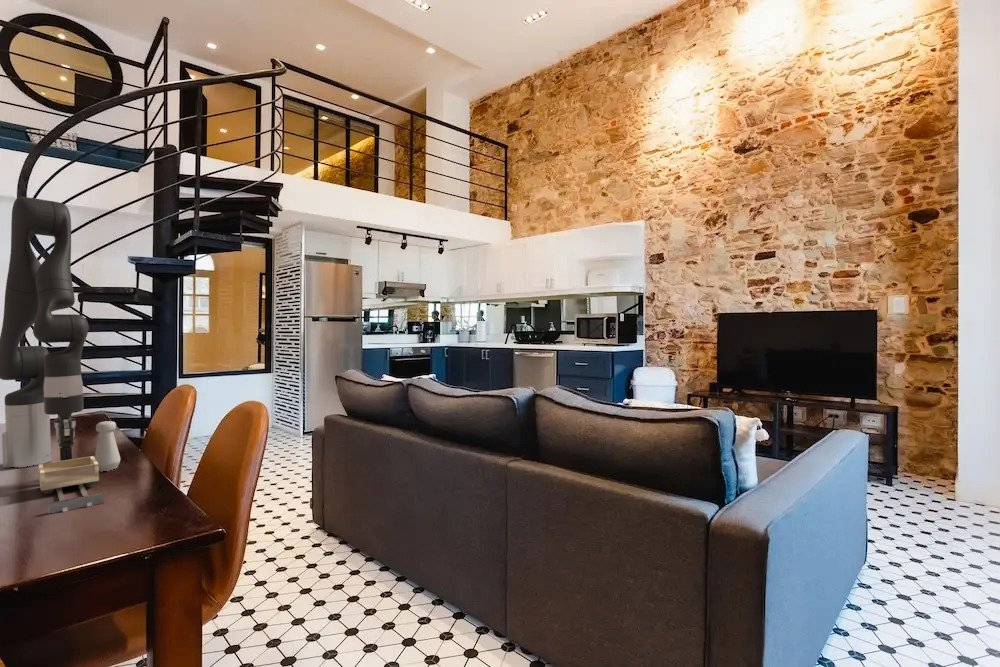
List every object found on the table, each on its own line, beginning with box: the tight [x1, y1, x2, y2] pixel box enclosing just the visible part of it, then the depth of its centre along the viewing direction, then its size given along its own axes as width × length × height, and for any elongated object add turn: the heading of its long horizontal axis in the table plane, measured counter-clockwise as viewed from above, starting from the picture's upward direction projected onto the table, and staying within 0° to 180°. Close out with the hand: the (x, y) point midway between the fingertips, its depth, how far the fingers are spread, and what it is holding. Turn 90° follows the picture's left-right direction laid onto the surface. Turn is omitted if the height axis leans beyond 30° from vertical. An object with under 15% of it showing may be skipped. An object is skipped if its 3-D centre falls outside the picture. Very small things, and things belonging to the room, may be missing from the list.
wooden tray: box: [38, 455, 100, 495], centre depth 123 cm, size 10×10×5 cm
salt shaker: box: [94, 420, 121, 473], centre depth 138 cm, size 6×6×13 cm
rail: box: [48, 483, 104, 515], centre depth 119 cm, size 28×9×2 cm, turn 44°
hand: (66, 462), depth 129 cm, fingers closed
